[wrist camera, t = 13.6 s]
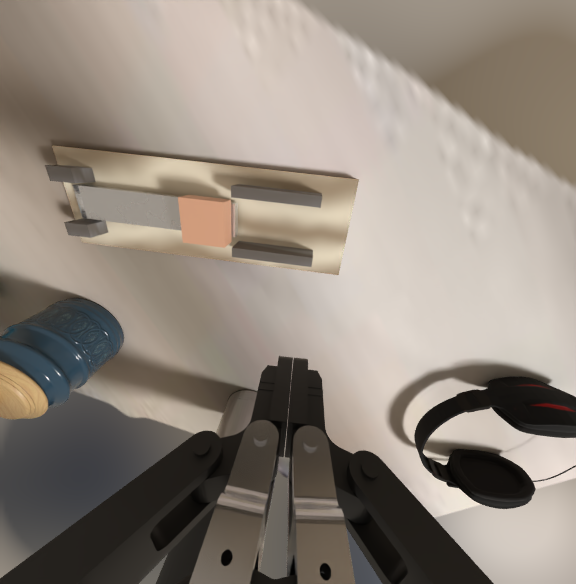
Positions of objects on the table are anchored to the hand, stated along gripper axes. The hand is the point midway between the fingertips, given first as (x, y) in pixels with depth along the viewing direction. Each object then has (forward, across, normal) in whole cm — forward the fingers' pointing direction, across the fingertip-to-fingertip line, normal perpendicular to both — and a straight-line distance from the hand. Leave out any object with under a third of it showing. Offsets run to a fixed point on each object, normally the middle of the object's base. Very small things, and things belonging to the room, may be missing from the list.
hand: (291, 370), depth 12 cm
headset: (+24, -39, +32) cm, 56 cm away
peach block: (+20, +11, -3) cm, 23 cm away
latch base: (+23, +13, -4) cm, 27 cm away
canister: (+24, +37, +19) cm, 48 cm away
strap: (+22, +19, -4) cm, 29 cm away
